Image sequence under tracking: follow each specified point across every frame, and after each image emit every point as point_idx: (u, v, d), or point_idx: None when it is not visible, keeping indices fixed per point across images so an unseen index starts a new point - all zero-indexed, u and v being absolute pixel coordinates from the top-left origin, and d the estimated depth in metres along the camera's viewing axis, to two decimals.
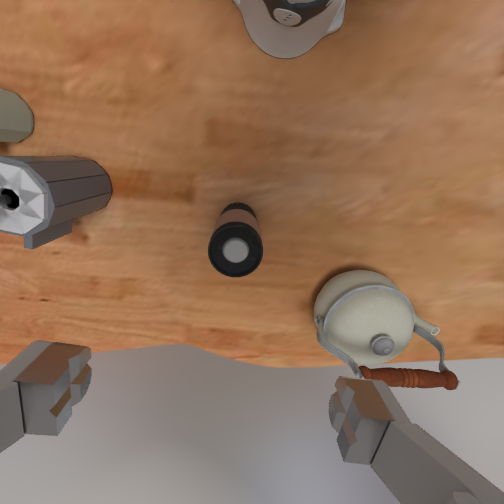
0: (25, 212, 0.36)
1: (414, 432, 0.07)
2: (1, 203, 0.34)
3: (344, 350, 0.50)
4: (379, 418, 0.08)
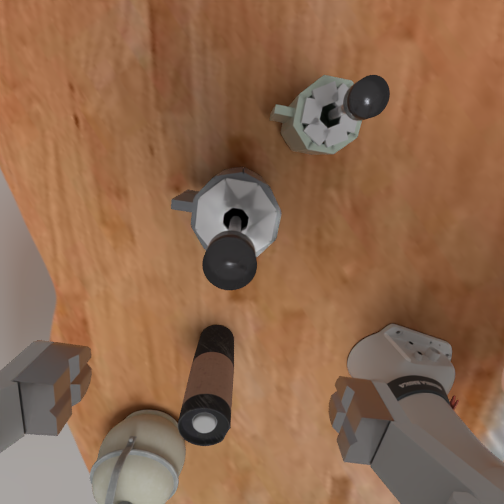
0: None
1: (414, 432, 0.07)
2: None
3: (106, 481, 0.51)
4: (379, 418, 0.08)
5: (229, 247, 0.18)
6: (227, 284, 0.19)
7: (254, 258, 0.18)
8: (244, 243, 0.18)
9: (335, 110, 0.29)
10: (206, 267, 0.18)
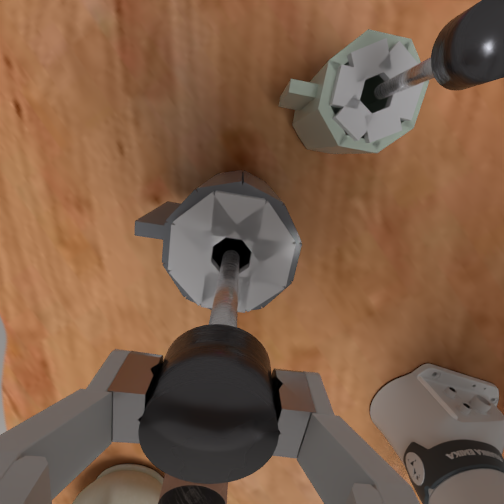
0: (210, 280, 0.20)
1: (333, 424, 0.07)
2: None
3: None
4: (301, 410, 0.07)
5: (208, 399, 0.07)
6: (205, 473, 0.08)
7: (273, 421, 0.07)
8: (247, 386, 0.07)
9: (393, 81, 0.18)
10: (149, 441, 0.07)
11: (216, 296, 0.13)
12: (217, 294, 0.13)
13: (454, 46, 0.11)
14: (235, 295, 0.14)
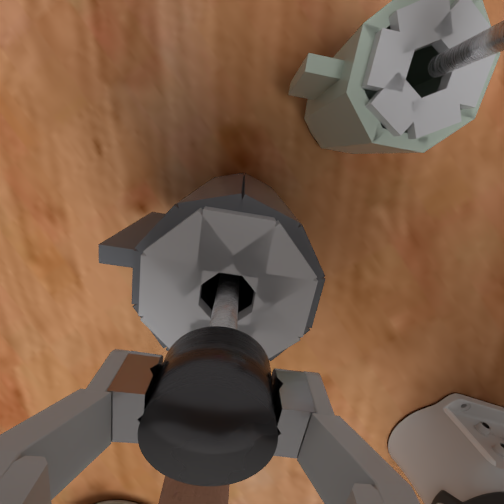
0: None
1: (333, 424, 0.07)
2: None
3: None
4: (301, 410, 0.07)
5: (207, 402, 0.07)
6: (204, 476, 0.08)
7: (272, 424, 0.07)
8: (246, 389, 0.07)
9: (466, 46, 0.12)
10: (148, 444, 0.07)
11: (216, 297, 0.13)
12: (217, 295, 0.13)
13: None
14: (236, 296, 0.14)
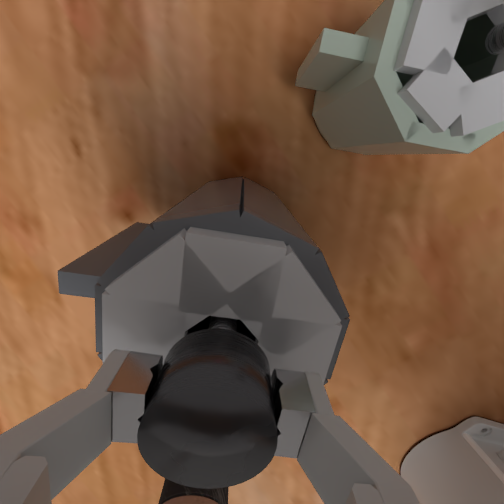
0: None
1: (333, 424, 0.07)
2: None
3: None
4: (301, 410, 0.07)
5: (206, 405, 0.07)
6: (204, 478, 0.08)
7: (272, 426, 0.07)
8: (246, 391, 0.07)
9: None
10: (148, 446, 0.07)
11: None
12: None
13: None
14: None
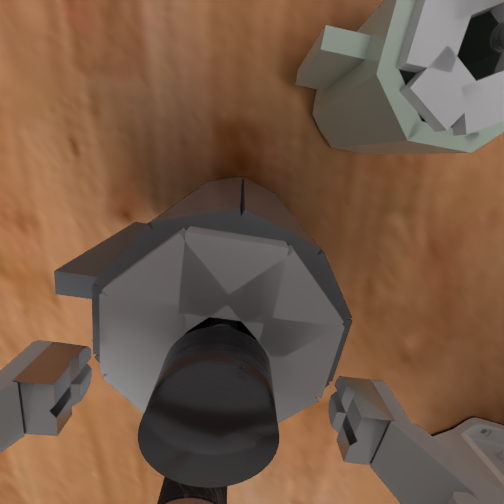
0: None
1: (414, 432, 0.07)
2: None
3: None
4: (379, 418, 0.08)
5: (208, 403, 0.07)
6: (204, 477, 0.07)
7: (273, 424, 0.07)
8: (247, 389, 0.07)
9: None
10: (149, 445, 0.07)
11: None
12: None
13: None
14: None
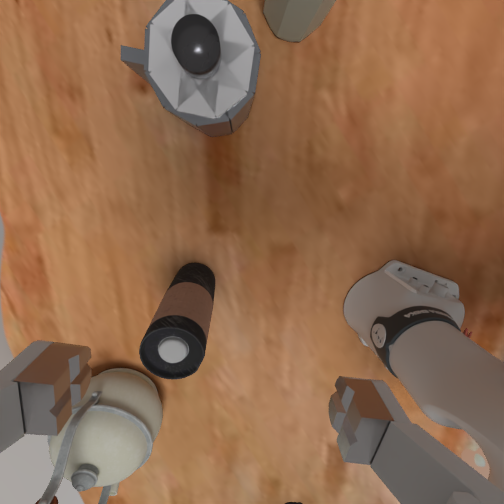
0: (184, 83, 0.24)
1: (414, 433, 0.07)
2: None
3: None
4: (379, 418, 0.08)
5: (194, 22, 0.20)
6: (194, 64, 0.21)
7: (217, 35, 0.20)
8: None
9: None
10: (174, 44, 0.20)
11: None
12: None
13: None
14: None
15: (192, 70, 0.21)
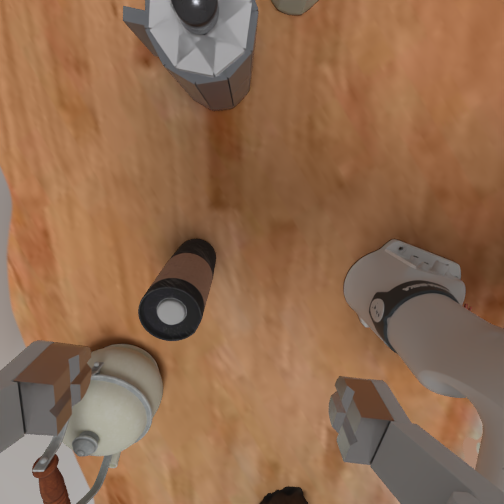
0: (183, 40, 0.25)
1: (414, 432, 0.07)
2: None
3: None
4: (379, 418, 0.08)
5: None
6: (191, 15, 0.22)
7: None
8: None
9: None
10: None
11: None
12: None
13: None
14: None
15: (190, 20, 0.22)
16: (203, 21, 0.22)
